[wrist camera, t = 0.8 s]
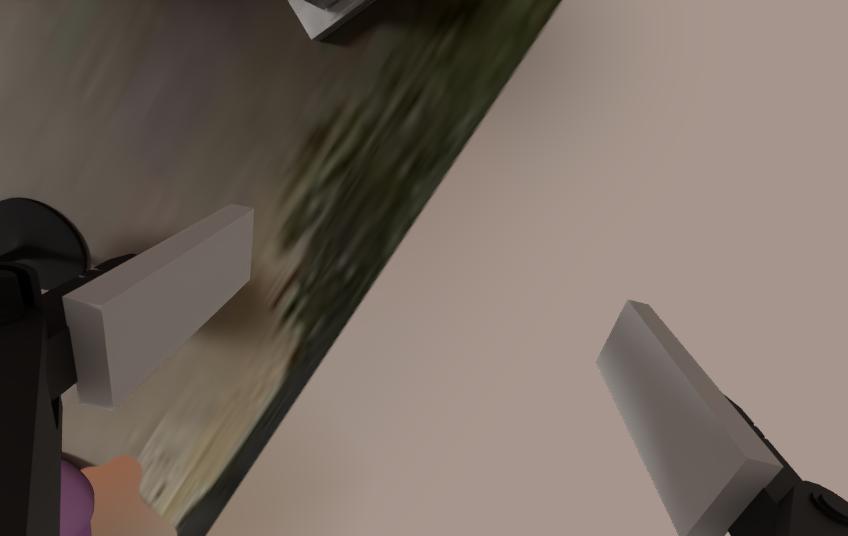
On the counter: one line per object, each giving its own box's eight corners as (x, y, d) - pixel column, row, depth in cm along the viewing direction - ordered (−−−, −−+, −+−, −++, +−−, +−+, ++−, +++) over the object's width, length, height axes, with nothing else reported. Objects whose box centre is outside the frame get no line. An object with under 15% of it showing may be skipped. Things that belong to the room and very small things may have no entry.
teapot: (141, 495, 60) (69, 589, 49) (98, 542, 65) (25, 636, 54) (-9, 409, 55) (-127, 492, 44) (-41, 468, 60) (-152, 554, 49)
